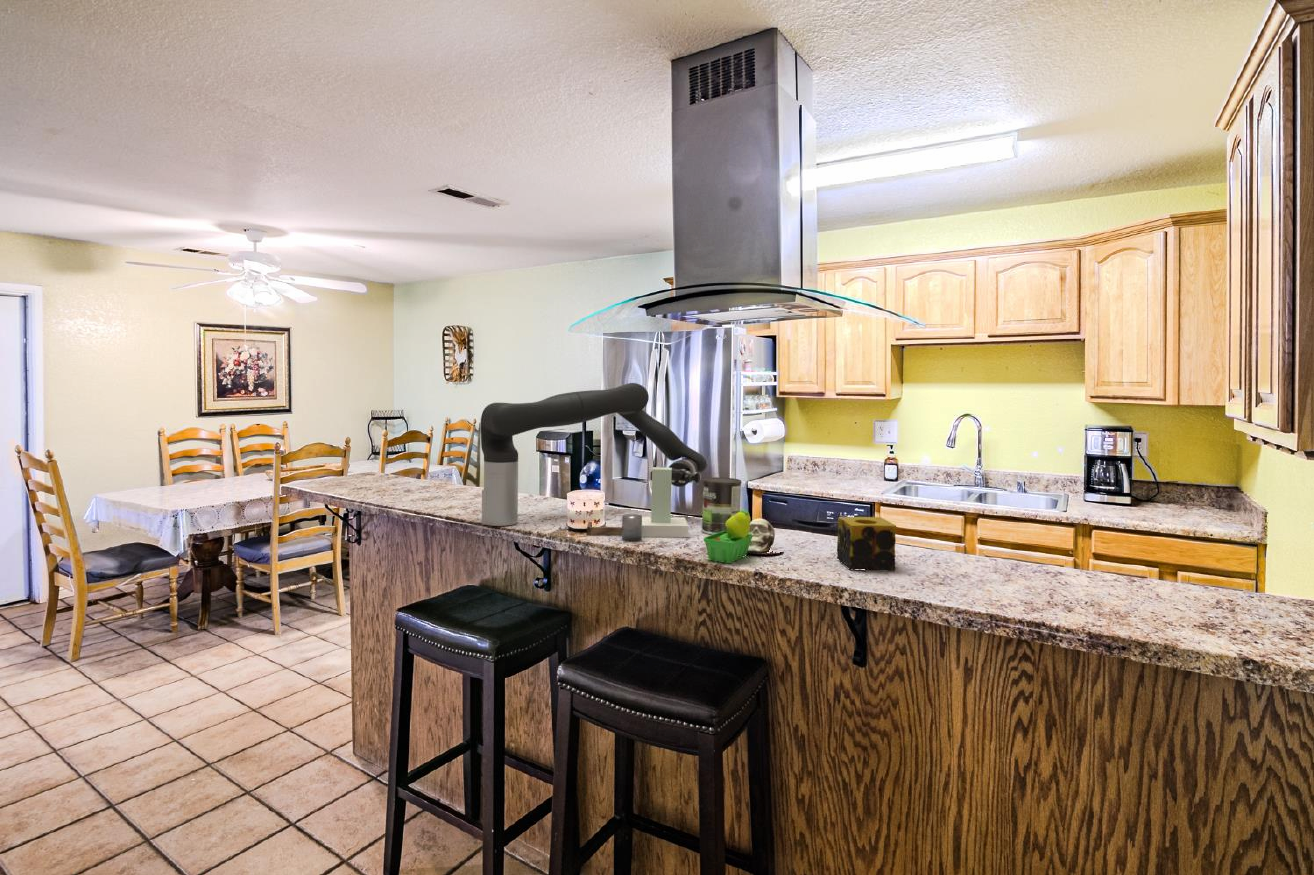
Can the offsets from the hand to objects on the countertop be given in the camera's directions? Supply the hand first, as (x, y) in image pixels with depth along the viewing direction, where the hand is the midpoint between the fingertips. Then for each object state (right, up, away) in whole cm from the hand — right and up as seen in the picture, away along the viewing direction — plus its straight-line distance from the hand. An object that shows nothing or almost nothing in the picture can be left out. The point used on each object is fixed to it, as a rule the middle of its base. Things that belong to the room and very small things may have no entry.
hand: (671, 478), depth 192 cm
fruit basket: (+13, -16, -37) cm, 42 cm away
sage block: (-3, -11, -10) cm, 15 cm away
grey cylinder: (-10, -14, -19) cm, 26 cm away
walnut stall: (-17, -13, -10) cm, 23 cm away
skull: (+20, -16, -29) cm, 38 cm away
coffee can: (+13, -14, -7) cm, 21 cm away
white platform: (-3, -14, -10) cm, 17 cm away
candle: (+42, -17, -41) cm, 61 cm away
